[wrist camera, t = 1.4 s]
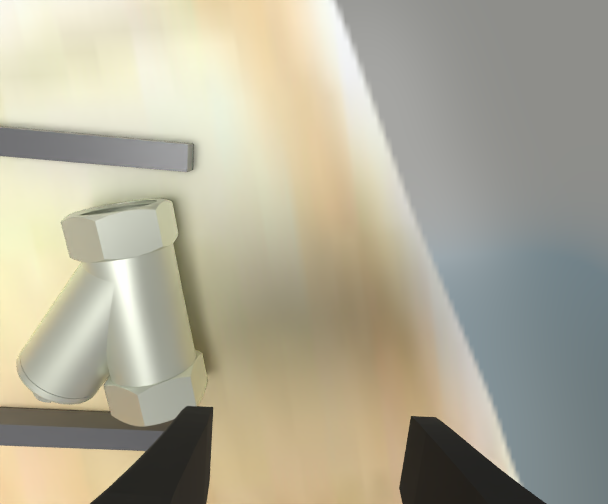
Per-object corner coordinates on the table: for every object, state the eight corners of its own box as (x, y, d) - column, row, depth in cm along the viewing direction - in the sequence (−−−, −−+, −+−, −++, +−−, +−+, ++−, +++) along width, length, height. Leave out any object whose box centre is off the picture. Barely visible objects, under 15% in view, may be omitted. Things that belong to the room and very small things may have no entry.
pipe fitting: (67, 387, 21) (213, 371, 21) (13, 443, 17) (190, 425, 17) (17, 214, 19) (178, 194, 19) (-55, 235, 15) (144, 210, 15)
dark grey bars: (183, 434, 21) (178, 452, 20) (0, 427, 21) (-17, 444, 20) (193, 143, 18) (188, 144, 17) (-22, 124, 18) (-43, 123, 16)
